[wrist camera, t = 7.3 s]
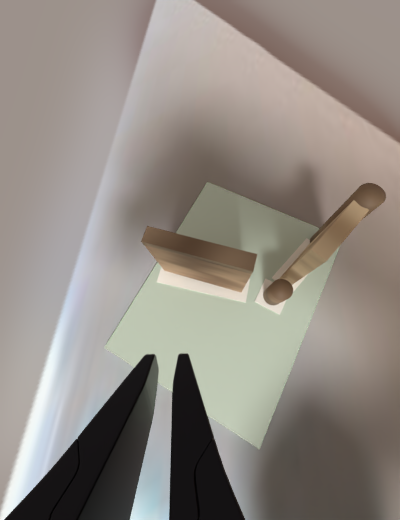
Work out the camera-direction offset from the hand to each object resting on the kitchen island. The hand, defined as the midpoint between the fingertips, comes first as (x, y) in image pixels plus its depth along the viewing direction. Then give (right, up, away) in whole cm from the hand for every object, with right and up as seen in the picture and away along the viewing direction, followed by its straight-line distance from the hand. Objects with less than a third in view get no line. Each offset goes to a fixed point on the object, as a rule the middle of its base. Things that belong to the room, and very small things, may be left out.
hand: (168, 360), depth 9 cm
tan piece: (+11, +3, +14) cm, 18 cm away
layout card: (+4, +1, +14) cm, 15 cm away
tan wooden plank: (+2, +3, +14) cm, 14 cm away
